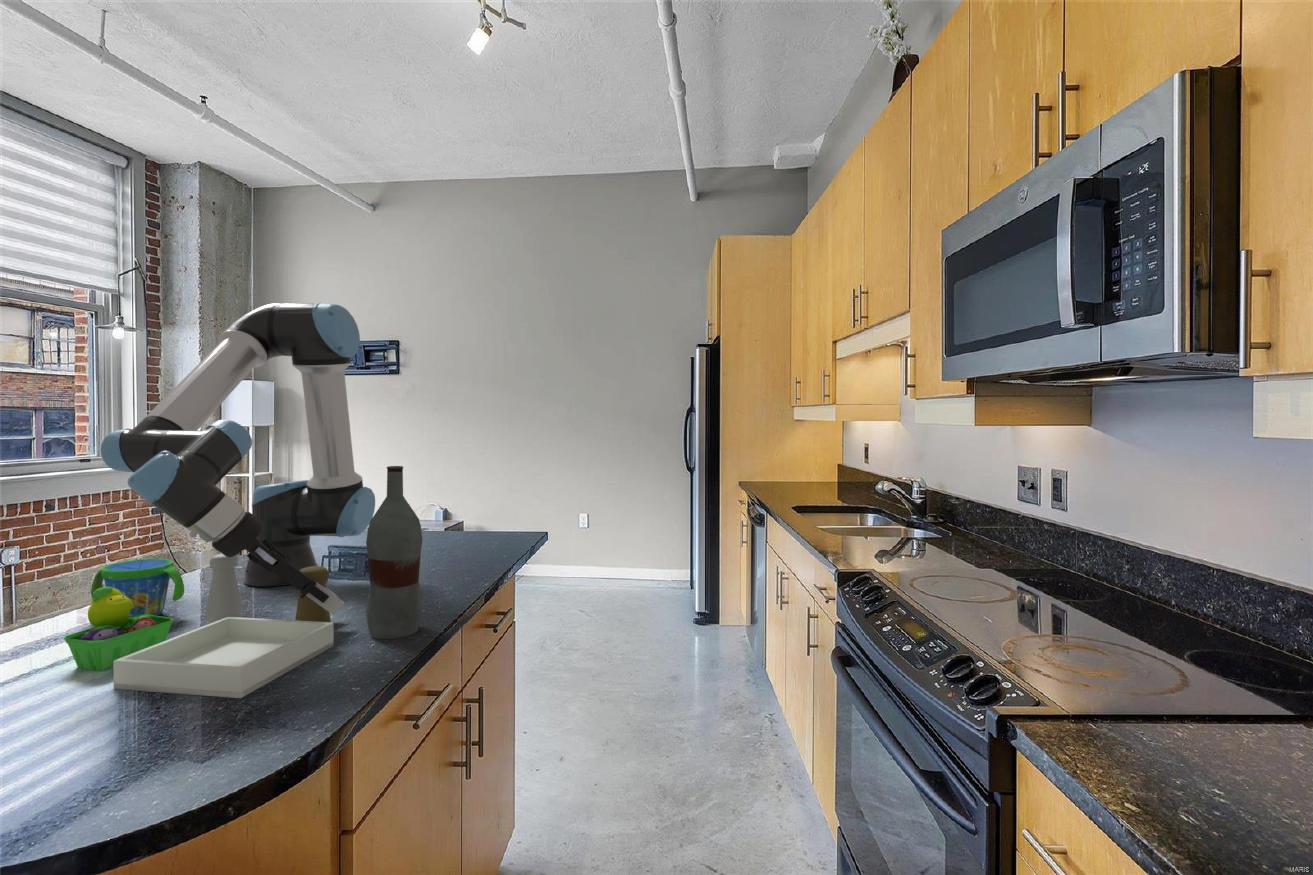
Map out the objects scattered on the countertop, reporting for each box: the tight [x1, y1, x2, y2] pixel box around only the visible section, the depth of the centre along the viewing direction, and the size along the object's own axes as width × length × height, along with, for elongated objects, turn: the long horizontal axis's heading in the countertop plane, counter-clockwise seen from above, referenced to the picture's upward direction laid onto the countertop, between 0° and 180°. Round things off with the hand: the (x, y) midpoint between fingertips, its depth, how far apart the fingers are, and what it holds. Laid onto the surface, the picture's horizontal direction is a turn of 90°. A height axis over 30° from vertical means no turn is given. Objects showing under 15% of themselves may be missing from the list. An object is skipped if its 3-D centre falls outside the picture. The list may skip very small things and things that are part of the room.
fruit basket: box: [63, 586, 174, 672], centre depth 96 cm, size 11×9×11 cm
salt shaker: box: [204, 553, 244, 624], centre depth 112 cm, size 6×6×13 cm
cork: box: [294, 565, 332, 622], centre depth 111 cm, size 6×6×11 cm
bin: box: [112, 616, 335, 699], centre depth 94 cm, size 20×20×4 cm
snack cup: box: [90, 558, 185, 618], centre depth 116 cm, size 16×10×10 cm
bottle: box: [365, 465, 423, 640], centre depth 109 cm, size 9×9×30 cm
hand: (334, 604), depth 114 cm, fingers closed on cork, 5 cm apart
